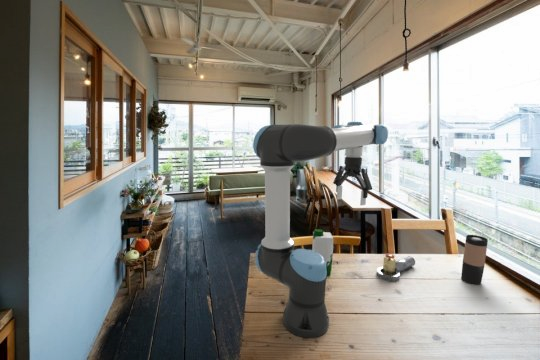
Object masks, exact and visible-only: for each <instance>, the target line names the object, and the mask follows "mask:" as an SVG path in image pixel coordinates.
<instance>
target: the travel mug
mask: <svg viewBox="0 0 540 360" xmlns="http://www.w3.org/2000/svg"><path fill="white" fill-rule="evenodd" d="M488 241H489V240H488V238H487V237H483V236H482V235H476V234H466V236H465V243H464V249H463V256H462V258H463V259H462V265H461V277H460V278H461V280H462V282H464V283H466V284H469V285H472V286H480V285H481V284H482V281H483V275H484V270H485V264H486V257H487V250H488V249H487V248H488Z"/></svg>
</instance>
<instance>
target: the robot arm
mask: <svg viewBox="0 0 540 360" xmlns="http://www.w3.org/2000/svg"><path fill="white" fill-rule="evenodd" d="M388 129H389V128H388V127H387V125H385V124H365V123H364V122H362V121H349V122H347V123H346V124H345V125H343V124H335V125H334V126H332V128H331V127H330V126H327V125H311V124H303V123H302V124H301V123H299V124H298V123H297V124H296V123H295V124H294V123H293V124H290V123H289V124H276V123H275V124H269V125H265V126H262V127H261V128H259V129H258V131H257V132H256V134H255V135H254V137H253V142H252V148H253V152H254V154H255V155H256V156H257V157H258V158H259V159H260V160H259V161H260V162H259V163H260V164H259V165H260V167H261V169H263V170H264V202H265V203H264V211H265V212H264V215H265V221H264V223H265V224H264V226H265V229H264V231H265V236H264V238H262V239H261V242H260V244H258V246H257V250H255V254H254V263H255V266H256V268H257V269H258V271H260V272H261V273H262V274H264V275H265V276H267V277H268V278H272V279H273V280H275V281H277V282H279V283H280V284H281V285H282V284H283V285H284V286H286V287H288V289H289V290H288V300H287V303H286V306H285V308H284V309H283V310H284V311H283V313H282V324H283V326H284V327H285V329H286V330H287V331H289V333H291V334H293V335H295V336H297V337H300V338H305V339H307V338H308V339H313V338H318V337H321V336H323V335H324V334H325V333H326V332H328V330H329V326H330V316H329V314H328V311H327V306H326V301H325V300H326V286H327V277H328V276H327V271H326V262H325V259H324V258H323V257H322V256H321V255H320V254H319V253H317V252H315V251H312V249H306V248H296V249H295V242H294V240H293V238H291V237H290V235H291V234H290V233H291V232H290V231H291V230H290V228H291V227H290V226H291V224H290V222H291V218H290V217H291V170H292V169H293V168H294V167H295V165H296V162H298V163H300V162H306V161H312V160H316V159H320V158H324V157H328V156H331V155H332V154H333V153H334V152H337V151H342V150H344V151H345V152H344V155H345V157H344V165H340V166H338V168H339V169H338V171H337V174H336V175H335V177H334V180H333V182H332V183H333V185H335V186H336V188H335V191H336V200H337V201H338V200H342V198H343V183H344V182H345V181H346V180H347V179H348V178H349V177H351V178H355V179H356V180H357V182H358V184H359V185H360V188H361V189H362V190H361V191H360V206H365V205H366V202H367V201H366V200H367V198H368V194H369V191H372V190H373V186H372V184H371V181H370V177H369V174H368V168H367V167H364V168H362V164H363V158H362V156H363V149H364V148H363V147H364V146H370V145H377V146H378V145H385V143H386V142H387V141H388V137H389V130H388Z"/></svg>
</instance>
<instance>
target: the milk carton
mask: <svg viewBox="0 0 540 360" xmlns="http://www.w3.org/2000/svg"><path fill="white" fill-rule="evenodd" d="M311 246H312V248H311V250H312V251H315V252H317V253H319V254H320V255H321V256H322V257H323V258H324V259H325V262H326V271H327V276H326V277H331V274H332V267H333V256H334V255H333V254H334V237H333V235H332V233H331V232H330V231H329V232H327V231H326V232H325V231H324V230H323V229H321V228H314V231H313V232H312V245H311Z"/></svg>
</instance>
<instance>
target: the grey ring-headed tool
mask: <svg viewBox="0 0 540 360" xmlns="http://www.w3.org/2000/svg"><path fill="white" fill-rule="evenodd" d="M415 265H416V260H415V258H414V257H413V256H411V255H410V256H409V255H408V256H407V257H404V258H401V259H399V260H397V261H395V272H394V275H391V276H390V275H386V274H383V266H380V267H377V269H376V276H378V278H380V279H382V280H384V281H388V282H397V281H399V280H400V275H401V274H400V273H401V272H403V271H405V270H407V269H409V268H411V267H414V266H415Z"/></svg>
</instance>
